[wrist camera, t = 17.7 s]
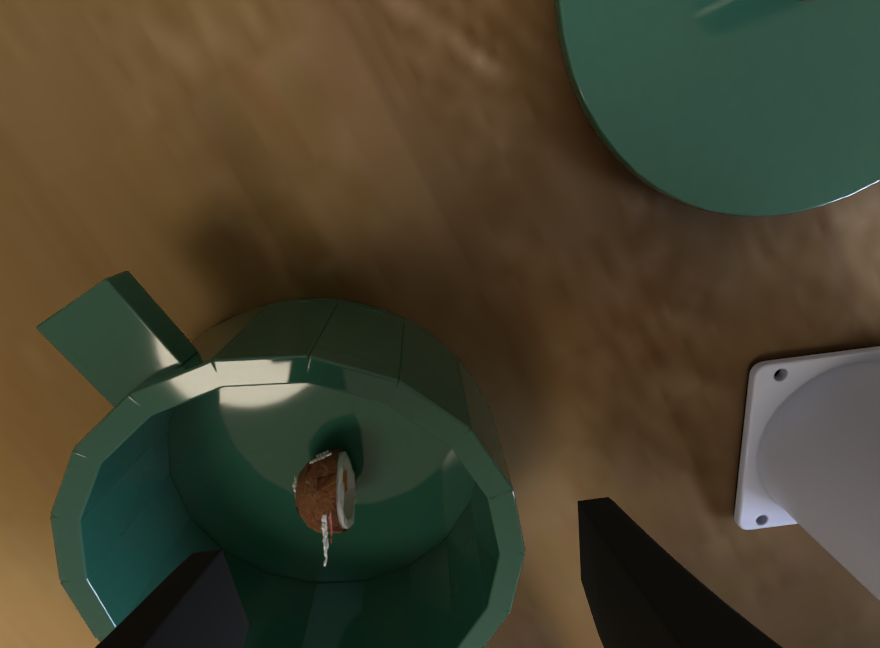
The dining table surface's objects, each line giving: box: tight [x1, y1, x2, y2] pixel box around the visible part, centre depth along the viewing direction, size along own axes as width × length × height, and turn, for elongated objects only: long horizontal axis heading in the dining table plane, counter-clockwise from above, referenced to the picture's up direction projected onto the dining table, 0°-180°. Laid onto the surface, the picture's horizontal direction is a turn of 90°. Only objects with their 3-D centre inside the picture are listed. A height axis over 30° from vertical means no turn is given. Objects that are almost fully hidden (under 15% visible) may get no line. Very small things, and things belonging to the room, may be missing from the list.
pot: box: [36, 271, 525, 648], centre depth 17 cm, size 14×19×6 cm
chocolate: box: [292, 448, 357, 566], centre depth 17 cm, size 3×2×4 cm
